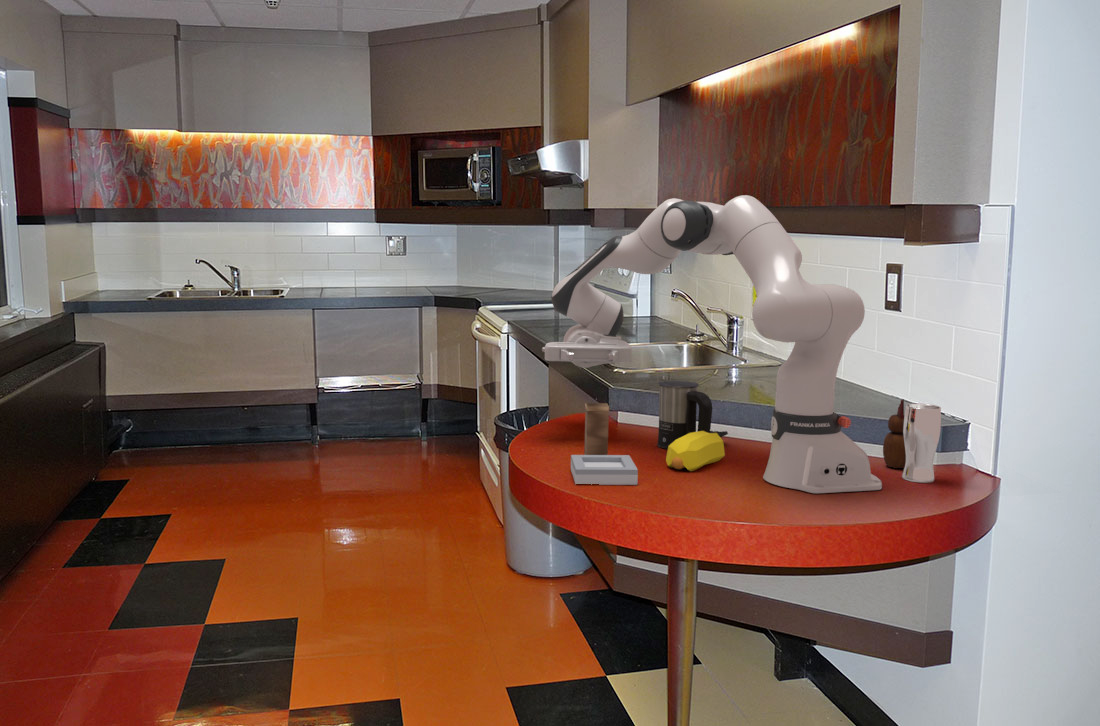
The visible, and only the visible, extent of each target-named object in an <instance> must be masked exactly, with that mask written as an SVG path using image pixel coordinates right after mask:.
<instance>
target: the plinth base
mask: <svg viewBox="0 0 1100 726" xmlns="http://www.w3.org/2000/svg"><path fill="white" fill-rule="evenodd" d="M570 471H571V474H572V477H573V481H574V485H576V484H591V485H592V484H599V486H600V485H601V486H604V485H605V486H611V485H612V486H614V485H615V486H626V485H627V486H628V485H629V486H638V479H639V478H638V477H639V476H638V475H639V474H638V473H639V472H638V471H639V470H638V468H637V465H636V464H635V462H634V461H633V459H632V457H631V456H630V455H629V454H622V455H621V454H608V455H584V454H571V455H570ZM592 486H593V485H592Z"/></svg>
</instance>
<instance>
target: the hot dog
mask: <svg viewBox="0 0 1100 726" xmlns="http://www.w3.org/2000/svg"><path fill="white" fill-rule="evenodd" d="M697 431H698V430H697ZM697 431H696V432H692V433H689V434H687V435H684V436H682V437H680V438H678V439H676V440H675V441H674V442H673V443H671V444H670V445H669V446H668V449H667V452H666V458H665V461H666V464H667V466H668V467H669V468H671V469H673V468H674V469H675V470H682V469H684V468H686V469H687V471H689V472H694V471H696V470H698V469H700V468H702V467H703V466H705V465H708V464H712V463H716V462H719V461H721V460H722V458H724V457H725V456H726V452H725V445H724V440H723V439H722V437H720V436H719V435H718V434H717V433H708V432H705V431H698V432H697Z"/></svg>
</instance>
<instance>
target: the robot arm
mask: <svg viewBox="0 0 1100 726" xmlns="http://www.w3.org/2000/svg"><path fill="white" fill-rule="evenodd" d="M682 251H683V252H685V251H687V252H691V253H697V254H703V255H713V256H715V255H717V256H718V255H723V256H732V255H734V257H735V258H736V260H737V261H738V262H739V264H740V265H741V267H742V268H743V270H744V271H745V274H747V276H748V278H749V279H750V281H751V282H752V285H753V287H754V290H755V294H756V298H755V301H754V303H753V306H752V312H751V313H752V317H751V318H752V322H753V325H754V328H755V330H756V331H757V333H758V334H759V335H761V336H762V337H763V338H765V339H769V340H772V341H775V342H781V343H786V344H787V343H788V344H789V343H794V345H793V347H792V350H791V352H790V354H789V355H788V358H787V359H786V360H785V361H784V362H783V363H782V364H781V365H780V366H779V368H778V370H777V373H776V384H775V385H776V387H775V405H774V406H775V407H774V408H773V409H772V417H771V426H770V432H771V437H772V438H771V439H772V440H771V446H770V451H769V455H768V457H769V458H768V461H767V465H766V468H765V471H764V473H763V475H762V479H763V480H764V481H766V482H767V483H770V484H772V485H775V486H779V487H781V488H782V487H783V488H789V489H793V490H799V491H803V492H807V493H809V494H810V493H811V494H827V493H828V494H829V493H844V492H845V493H847V492H849V493H851V492H863V491H864V492H866V491H880V490H882V489H883V483H882V480H881V479H880V478H878V476H876V475H874V474H872V473H871V472H872V471H871V463H870V459H869V457H868V454H867V453H866V452H865V450H864V449H863V448H861V447H860V446H859V445H858V444H856V442H854V441H853V439H851V438H850V437H849V436H847V435H846V434H845V433H844V432H842V428H844V429H848V428H849V427H851V424H852V420H851V419H850V417H847V416H844V415H842V416H841V415H840V414H837V413H836V412H834V405H835V404H834V403H835V392H836V389H835V388H836V379H837V374H838V369H839V366H840V363H841V359H842V356H843V354H844V352H845V350H846V347H847V345H848V343H849V341H850V340H851V337H852V336H853V334H855V332H856V331H858V330H859V328H861V326H862V324H863V321H864V318H865V315H866V314H865V312H866V311H865V310H866V309H865V305H864V304H865V303H864V302H863V299H862V297H861V295H860V294H859V293H857V292H856V291H855V290H854V289H851V288H849V287H845V286H841V285H839V284H838V285H837V284H835V283H834V284H833V283H829V284H828V283H826V284H819V283H818V284H811V283H809V282H808V281H807V280H805V279H804V278H803V276H802V275H801V272H800V270H799V269H800V268H801V265H802V261H803V255H802V252H801V250H800V248H799V247H798V246H797V244H796V243H795V242H794V240H793V239H792V237H791V236H790V235H789V233H788V231H786V229H785V228H784V227H783V225H782V224H781V223H780V222H779V220H778V218H776V217H775V215H774V214H773V212H771V211H770V210H769V209H768V208H767V207H766V206H765V205H764V204H763V203H762V202H761V201H760V200H759V199H757V198H755V197H754V196H751V195H747V194H745V195H738V196H735V197H734V198H732V199H730V200H728V201H727V202H726V203H725V204H724V205H722V204H719V203H714V202H708V201H694V200H684V199H680V198H675V197H673V198H668V199H666V200H665V201H663V202H662V203H661V204H659V205H658V206H657V207H656V208H655V209H654V210H653V211H652V212H651V213H650V214H649V215H648V216H647V217H646V218H645V219H644V221H643V222H642V223H641V224H640V225H639V226H638V228H637V229H636V230H635V231H633V232H630V233H629V234H627V235H623V236H622V235H615V236H613V237H612V238H610V239H609V240H607V241H606V242H605V243H603V244H602V245H601V246H600V247H598V249H596V250H595V251H594V252H593V253H592V254H591V255H589V257H587V258H586V259H585V260H584V261H583V262H582V263H581V264H579V266H578V267H576V268H575V269H574V270H572V271H571V272H570V273H568V274H567V275H565V277H563V278H562V279H561V280H559V281H558V283H557V284H556V285H555V287H554V289H553V290H552V293H551V296H550V299H551V303H552V306H553V308H554V311H555V312H557V313H559V314H561V315H563V316H565V317H568V318H569V319H571V320H573V321H574V322H576V323H577V324H575V325H573V326H571V327H569V328H568V329H567V330H566V332H565V334H564V336H563V341H552V342H547V343H546V344H545V345H544V346H543V347H542V348H541V351H542V352H543V353H544V360H545V361H548V362H571V363H572V364H574V365H575V366H577V367H578V368H583V369H585V368H591V367H594V366H595V367H597V366H600V365H608V364H619V363H631V361H632V356H633V349H632V346H631V345H630V343H628V342H627V341H626V340H622V337H621V336H620V335H617V334H618V332H620V329H621V327H622V325H623V322H624V319H625V318H624V314H625V313H624V309H623V305H622V303H620V302H619V301H617V300H616V299H615V298H613V297H611V296H609V295H608V294H606V293H604V292H603V291H601V290H599V289H598V288H596V287H594V286H593V285H592V284H590V283H589V282H591V281H592V280H593V279H594V278H595V277H596V276H597V275H599V274H600V273H601V272H602V271H604V270H605V269H611V268H613V269H621V270H626V271H629V272H633V273H636V274H639V275H655V274H659V273H661V272H663V271H664V270H666V269H667V268H668V267H669V266H670V265H671V264H672V263H673V262H674V260H675V259H677V257H678V256H679V255H680V254H681V252H682Z"/></svg>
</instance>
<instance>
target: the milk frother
mask: <svg viewBox="0 0 1100 726" xmlns="http://www.w3.org/2000/svg"><path fill="white" fill-rule="evenodd" d="M657 384H658V385H659V387H658V389H659V391H658V434H657V443H656V446H657V447H658V448H662V449H665V450H668V446H669V445H670V444H671V443H673V442H674V441H675V440H676V439H678V438H680V437H682V436H684V435H687V434H689V433H692V432H698V431H705V432H708V433H717V434H718V435H719V436H720V438H722V437H725V436H727V435H728V434H729V433H728V431H727V430H725V431H724V430H723V431H718V430H714V431H713V430H711V429H712V428H711V426H712V416H713V402H712V399H711V398H710V397H709V396H708V394H706V393H705V392H701V391H698V386H699V383H698V382H694V381H687V380H665V381H659V382H658V383H657ZM697 405H698V416H697ZM697 417H698V418H697ZM697 419H698V420H697Z"/></svg>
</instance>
